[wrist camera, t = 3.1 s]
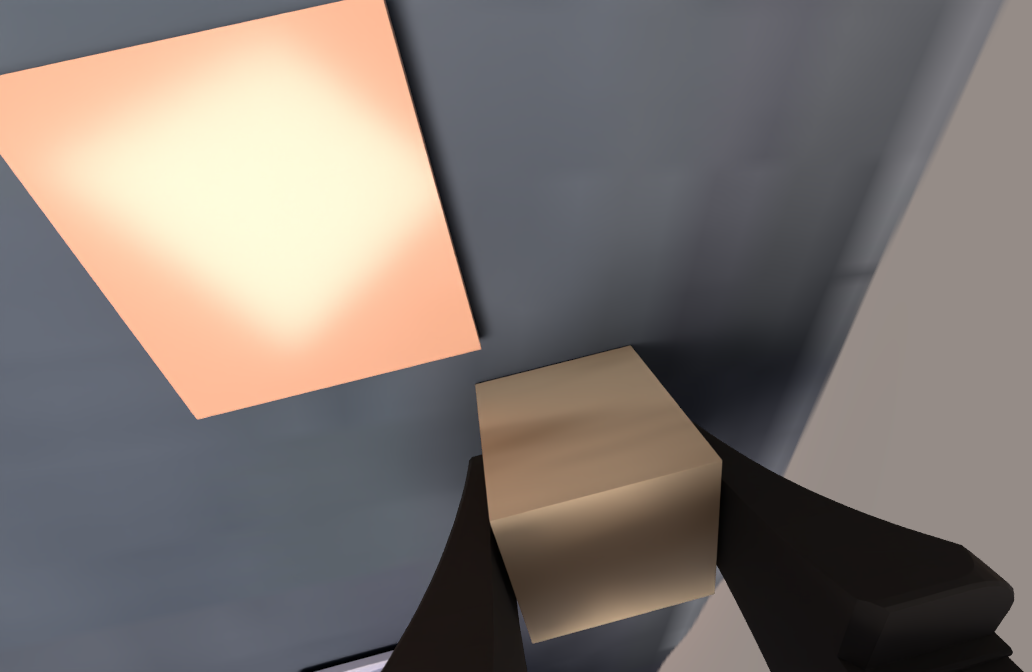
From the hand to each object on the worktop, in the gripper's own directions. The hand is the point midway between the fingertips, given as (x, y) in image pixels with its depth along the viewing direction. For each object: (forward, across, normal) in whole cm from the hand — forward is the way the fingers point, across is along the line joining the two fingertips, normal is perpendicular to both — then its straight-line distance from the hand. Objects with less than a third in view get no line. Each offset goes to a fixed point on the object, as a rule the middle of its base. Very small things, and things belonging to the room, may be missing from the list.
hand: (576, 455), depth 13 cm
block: (+1, 0, 0) cm, 1 cm away
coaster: (+1, +6, -8) cm, 10 cm away
